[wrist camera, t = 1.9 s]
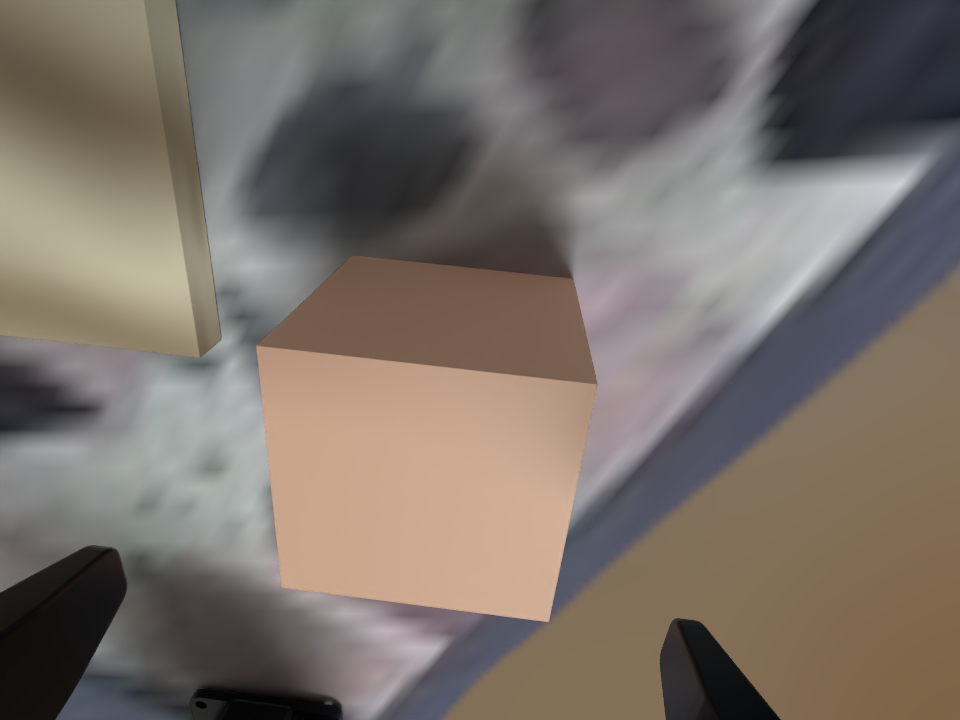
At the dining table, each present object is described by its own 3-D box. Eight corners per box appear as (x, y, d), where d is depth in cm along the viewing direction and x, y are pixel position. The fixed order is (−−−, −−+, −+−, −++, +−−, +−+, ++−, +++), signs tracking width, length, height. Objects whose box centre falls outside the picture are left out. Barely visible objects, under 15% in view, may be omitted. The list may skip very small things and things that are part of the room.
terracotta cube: (543, 458, 18) (548, 622, 12) (356, 436, 18) (281, 587, 12) (573, 277, 15) (597, 384, 10) (353, 254, 15) (256, 345, 10)
